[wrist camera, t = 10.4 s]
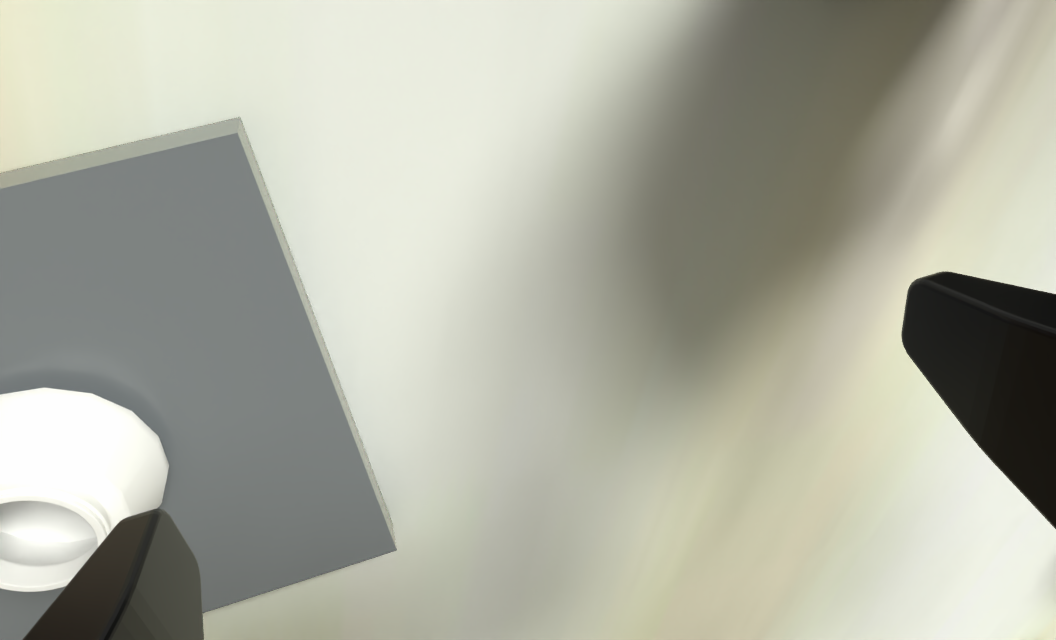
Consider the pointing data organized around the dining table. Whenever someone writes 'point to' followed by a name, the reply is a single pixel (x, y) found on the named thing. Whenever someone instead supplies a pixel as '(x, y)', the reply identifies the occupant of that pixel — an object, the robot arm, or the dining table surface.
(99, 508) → the white jar
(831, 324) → the dining table surface
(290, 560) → the coaster
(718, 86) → the dining table surface
